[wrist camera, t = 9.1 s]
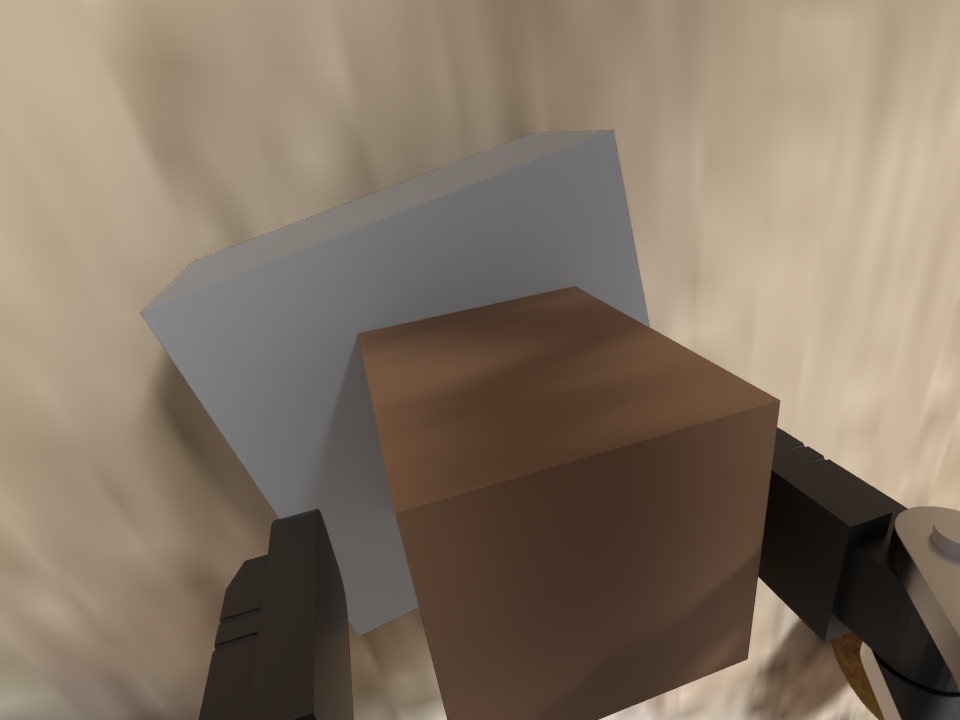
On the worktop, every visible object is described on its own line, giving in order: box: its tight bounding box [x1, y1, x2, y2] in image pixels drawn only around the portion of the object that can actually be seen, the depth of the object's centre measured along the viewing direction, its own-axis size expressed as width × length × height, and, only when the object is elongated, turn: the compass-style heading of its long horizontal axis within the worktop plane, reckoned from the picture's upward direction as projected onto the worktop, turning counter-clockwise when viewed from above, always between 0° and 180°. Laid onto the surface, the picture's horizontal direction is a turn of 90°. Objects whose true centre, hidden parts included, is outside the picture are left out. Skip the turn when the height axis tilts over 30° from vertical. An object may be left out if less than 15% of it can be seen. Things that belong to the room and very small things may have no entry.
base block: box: [140, 130, 650, 636], centre depth 15 cm, size 10×10×5 cm
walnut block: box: [358, 286, 780, 720], centre depth 10 cm, size 5×5×6 cm
